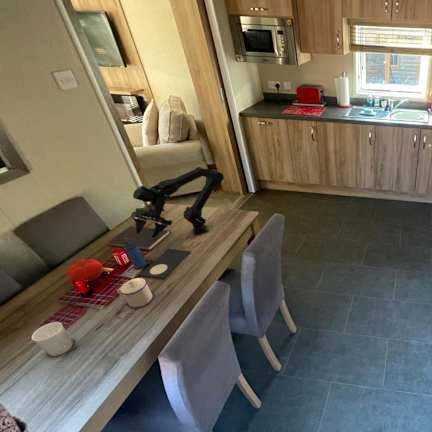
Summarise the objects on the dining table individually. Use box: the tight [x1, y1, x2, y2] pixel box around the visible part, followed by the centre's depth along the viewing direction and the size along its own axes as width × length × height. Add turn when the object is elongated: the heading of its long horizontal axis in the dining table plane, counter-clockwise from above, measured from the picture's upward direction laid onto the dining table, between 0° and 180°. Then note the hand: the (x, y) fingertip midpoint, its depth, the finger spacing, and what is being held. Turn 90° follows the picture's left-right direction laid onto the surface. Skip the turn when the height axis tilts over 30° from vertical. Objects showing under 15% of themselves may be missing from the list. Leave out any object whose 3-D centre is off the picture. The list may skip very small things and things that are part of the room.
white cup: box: [31, 321, 74, 357], centre depth 113 cm, size 8×8×10 cm
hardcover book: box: [107, 225, 171, 251], centre depth 170 cm, size 16×23×2 cm
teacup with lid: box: [117, 277, 153, 308], centre depth 133 cm, size 12×9×12 cm
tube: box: [123, 242, 148, 270], centre depth 150 cm, size 5×5×13 cm
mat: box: [139, 248, 191, 280], centre depth 156 cm, size 20×12×1 cm, turn 174°
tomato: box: [66, 258, 104, 282], centre depth 143 cm, size 11×12×9 cm
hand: (145, 235), depth 152 cm, fingers open, 9 cm apart
